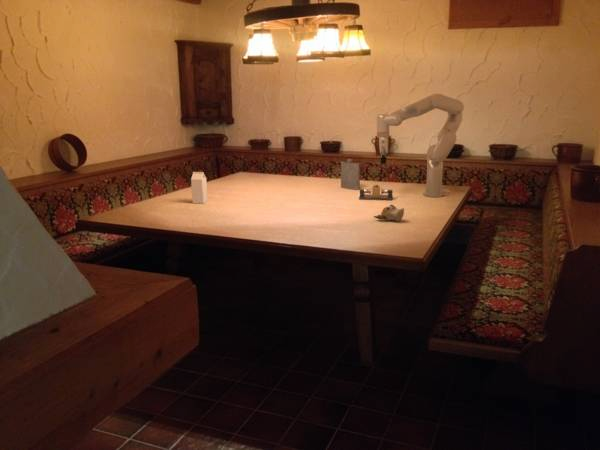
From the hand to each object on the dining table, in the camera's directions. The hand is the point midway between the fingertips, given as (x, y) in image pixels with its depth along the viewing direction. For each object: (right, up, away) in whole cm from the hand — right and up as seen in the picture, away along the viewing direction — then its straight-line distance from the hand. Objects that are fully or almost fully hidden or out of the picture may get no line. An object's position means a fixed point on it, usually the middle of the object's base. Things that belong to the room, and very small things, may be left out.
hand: (383, 162), depth 329 cm
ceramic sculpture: (-5, -37, -53) cm, 64 cm away
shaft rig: (-5, -23, -1) cm, 23 cm away
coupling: (-5, -21, -2) cm, 22 cm away
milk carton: (-114, -25, -2) cm, 116 cm away
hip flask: (-18, -14, +31) cm, 39 cm away
